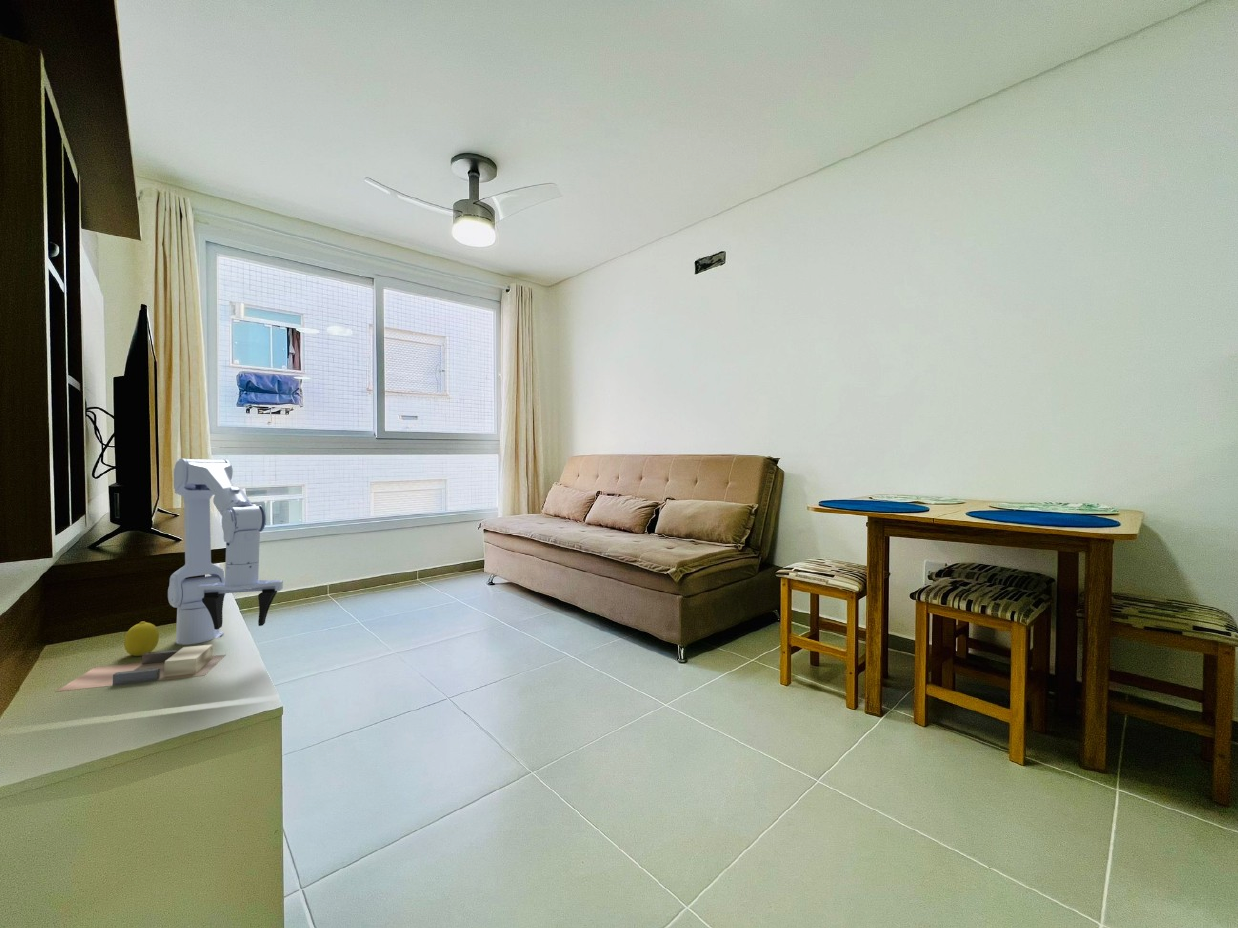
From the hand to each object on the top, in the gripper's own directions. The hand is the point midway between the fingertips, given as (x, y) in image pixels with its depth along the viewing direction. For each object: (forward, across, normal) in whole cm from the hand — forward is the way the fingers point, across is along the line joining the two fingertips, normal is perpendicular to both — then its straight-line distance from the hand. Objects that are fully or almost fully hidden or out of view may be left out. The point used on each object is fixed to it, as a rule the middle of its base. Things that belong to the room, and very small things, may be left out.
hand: (240, 626), depth 106 cm
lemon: (+9, -21, +12) cm, 26 cm away
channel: (+8, -15, 0) cm, 17 cm away
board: (+8, -15, 0) cm, 17 cm away
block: (+8, -8, 0) cm, 11 cm away
